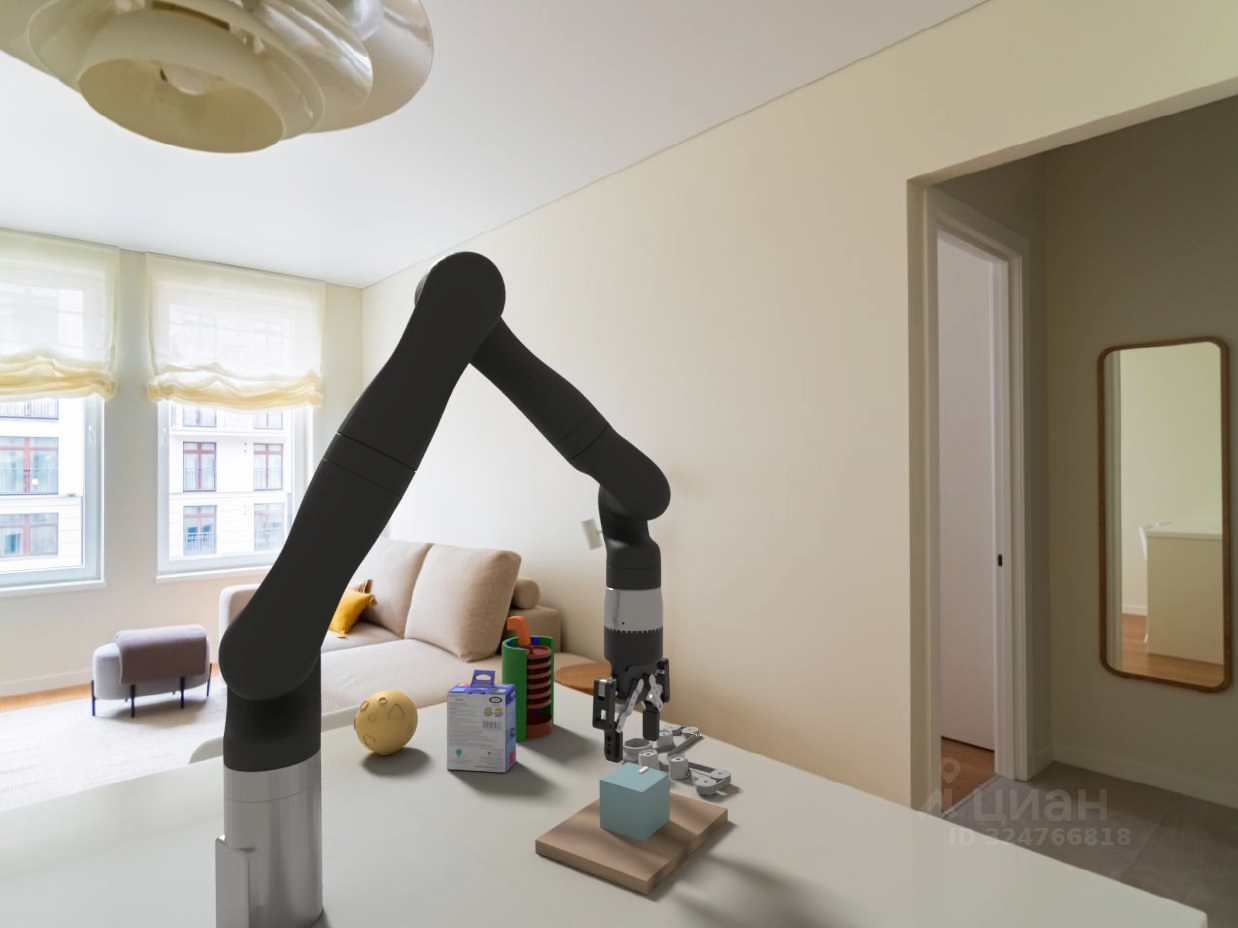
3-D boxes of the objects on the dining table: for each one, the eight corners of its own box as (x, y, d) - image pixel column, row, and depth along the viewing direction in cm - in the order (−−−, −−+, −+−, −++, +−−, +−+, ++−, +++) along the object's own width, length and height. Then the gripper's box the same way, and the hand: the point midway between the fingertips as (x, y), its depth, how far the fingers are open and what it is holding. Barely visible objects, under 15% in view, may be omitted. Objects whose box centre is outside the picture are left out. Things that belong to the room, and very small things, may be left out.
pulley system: (634, 811, 101) (739, 797, 103) (631, 777, 101) (736, 764, 103) (611, 743, 128) (694, 733, 130) (609, 716, 128) (692, 706, 130)
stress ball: (391, 743, 126) (343, 713, 123) (429, 699, 127) (382, 668, 124) (390, 776, 117) (338, 744, 114) (431, 728, 117) (381, 695, 114)
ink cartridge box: (518, 759, 117) (517, 669, 117) (507, 774, 111) (506, 679, 111) (459, 756, 118) (458, 666, 118) (445, 770, 113) (444, 676, 113)
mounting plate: (646, 894, 80) (646, 881, 80) (535, 851, 89) (535, 839, 89) (727, 819, 96) (727, 808, 96) (627, 790, 105) (626, 779, 105)
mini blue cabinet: (642, 841, 88) (642, 790, 88) (599, 827, 92) (599, 777, 92) (669, 819, 93) (669, 771, 93) (628, 807, 97) (627, 760, 97)
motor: (542, 742, 124) (541, 624, 124) (492, 739, 125) (491, 623, 125) (559, 722, 133) (558, 612, 133) (513, 719, 135) (512, 611, 135)
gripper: (626, 636, 85) (626, 776, 84) (686, 615, 96) (686, 738, 96) (575, 628, 89) (575, 761, 89) (639, 609, 101) (638, 727, 100)
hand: (633, 749), depth 92 cm, fingers open, 8 cm apart
